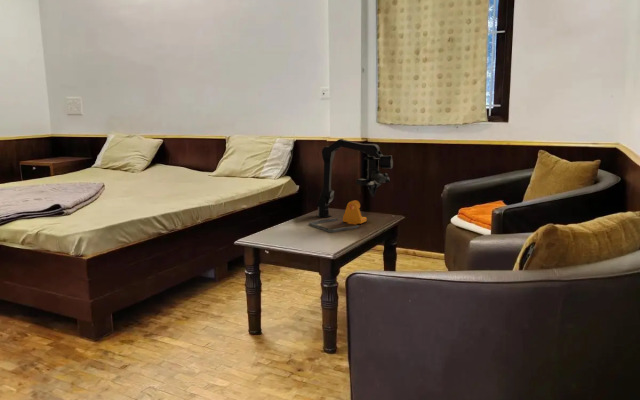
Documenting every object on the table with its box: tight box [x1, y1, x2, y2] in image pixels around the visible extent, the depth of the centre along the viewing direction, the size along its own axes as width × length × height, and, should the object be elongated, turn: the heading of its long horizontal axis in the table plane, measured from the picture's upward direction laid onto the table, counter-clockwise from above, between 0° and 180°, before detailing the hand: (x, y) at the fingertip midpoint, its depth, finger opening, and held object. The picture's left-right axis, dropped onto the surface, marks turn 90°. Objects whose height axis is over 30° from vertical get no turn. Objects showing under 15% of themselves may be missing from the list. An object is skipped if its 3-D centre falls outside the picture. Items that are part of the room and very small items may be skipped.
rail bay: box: [308, 217, 360, 234], centre depth 265 cm, size 21×18×1 cm
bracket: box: [342, 199, 367, 225], centre depth 271 cm, size 11×7×12 cm, turn 58°
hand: (372, 196), depth 276 cm, fingers closed
